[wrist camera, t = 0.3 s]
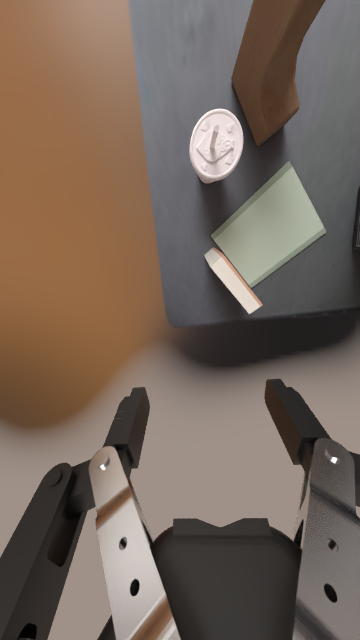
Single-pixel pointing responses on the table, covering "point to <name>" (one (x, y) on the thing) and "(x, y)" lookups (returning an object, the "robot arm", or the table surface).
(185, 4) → the table surface
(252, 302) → the tile
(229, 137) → the smoothie
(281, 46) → the wooden block
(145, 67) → the table surface
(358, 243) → the small box
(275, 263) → the mat
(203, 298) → the table surface
